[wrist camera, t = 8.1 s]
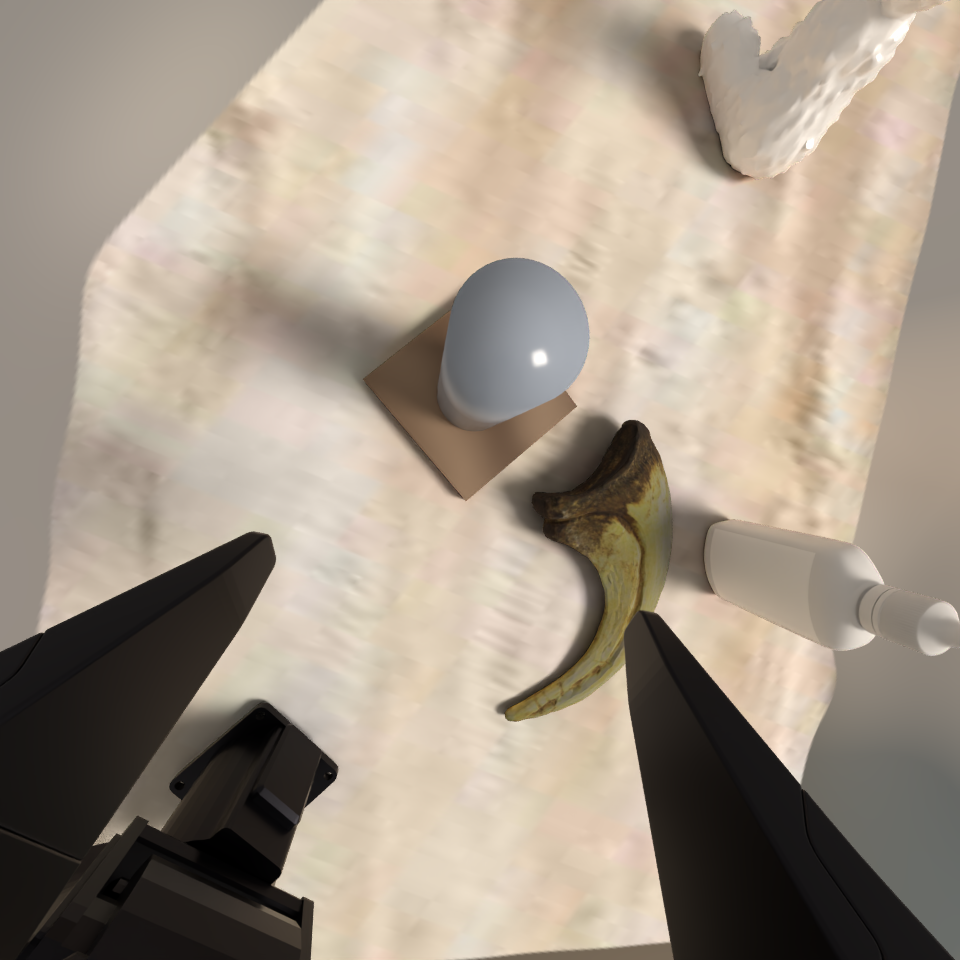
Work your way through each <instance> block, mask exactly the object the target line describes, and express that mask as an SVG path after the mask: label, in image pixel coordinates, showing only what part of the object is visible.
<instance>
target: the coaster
mask: <svg viewBox="0 0 960 960" xmlns="http://www.w3.org/2000/svg"><path fill="white" fill-rule="evenodd" d="M450 314H451V310H450V311H449V312H448V313H446V314H445V315H444V316H442V317H441V318H440V319H439V320H437V321H436V322H435V323H434V324H432V325H431V326H430V327H428V328H427V329H426V330H425V331H423V332H422V333H421V334H420V335H418V336H417V337H416V338H415V339H413V340H412V341H411V342H409V343H408V344H407V345H406V346H404V347H403V348H402V349H401V350H399V351H398V352H397V353H395V354H394V355H393V356H392V357H390V358H389V359H388V360H387V361H385V362H384V363H383V364H382V365H380V366H379V367H378V368H376V369H375V370H374V371H373V372H371V373H370V374H369V375H368V376H366V377H365V378H364V379H363V380H364V381H365V383H366V384H367V385H368V386H369V387H370V389H371V390H372V391H373V392H374V393H375V394H376V396H377V397H378V398H379V399H380V400H381V402H382V403H383V404H384V405H385V406H386V407H387V409H388V410H389V411H390V412H391V413H392V415H393V416H394V417H395V418H396V419H397V420H398V422H399V423H400V424H401V425H402V426H403V428H404V429H405V430H406V431H407V432H408V433H409V435H410V436H411V437H412V438H413V439H414V441H415V442H416V443H417V444H418V445H419V446H420V448H421V449H422V450H423V451H424V452H425V454H426V455H427V456H428V457H429V458H430V459H431V461H432V462H433V463H434V464H435V465H436V467H437V468H438V469H439V470H440V471H441V472H442V474H443V475H444V476H445V477H446V478H447V480H448V481H449V482H450V483H451V484H452V485H453V487H454V488H455V489H456V490H457V491H458V493H459V494H460V495H461V496H462V497H463V498H464V500H465V501H467V500H468V499H469V498H470V497H471V496H473V495H474V494H475V493H476V492H477V491H478V490H480V489H481V488H482V487H483V486H484V485H485V484H487V483H488V482H489V481H490V480H491V479H492V478H494V477H495V476H496V475H497V474H498V473H500V472H501V471H502V470H503V469H504V468H505V467H507V466H508V465H509V464H510V463H511V462H512V461H514V460H515V459H516V458H517V457H518V456H519V455H521V454H522V453H523V452H524V451H525V450H526V449H528V448H529V447H530V446H531V445H532V444H533V443H535V442H536V441H537V440H538V439H539V438H540V437H542V436H543V435H544V434H545V433H546V432H548V431H549V430H550V429H551V428H552V427H553V426H555V425H556V424H557V423H558V422H559V421H560V420H562V419H563V418H564V417H565V416H566V415H567V414H569V413H570V412H571V411H572V410H573V409H574V408H576V407H577V406H576V404H575V403H574V402H573V400H572V399H571V398H570V396H569V395H568V393H567V392H566V391H564V392H563V393H562V394H560V395H559V396H557V397H556V398H554V399H552V400H550V401H548V402H545V403H543V404H541V405H539V406H537V407H535V408H532V409H530V410H528V411H526V412H524V413H522V414H520V415H517V416H515V417H513V418H511V419H509V420H507V421H504V422H502V423H500V424H498V425H496V426H494V427H491V428H489V429H487V430H483V431H475V432H473V431H467V430H463V429H460V428H458V427H456V426H455V425H453V424H452V423H451V422H450V421H448V420H447V418H446V417H445V416H444V415H443V413H442V411H441V409H440V407H439V404H438V401H437V384H438V378H439V373H440V368H441V362H442V357H443V351H444V346H445V340H446V335H447V330H448V324H449V319H450Z"/></svg>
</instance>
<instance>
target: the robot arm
mask: <svg viewBox="0 0 960 960" xmlns="http://www.w3.org/2000/svg"><path fill="white" fill-rule="evenodd" d="M275 562H276V555H275V551H274V547H273V543H272V539H271V537H270V536H269V535H268V534H265V533H260V532H248V533H246V534H244V535H242V536H240V537H238V538H236V539H234V540H232V541H230V542H227V543H225V544H223V545H221V546H219V547H217V548H215V549H213V550H211V551H209V552H207V553H205V554H203V555H201V556H198V557H196V558H194V559H192V560H190V561H188V562H186V563H184V564H182V565H180V566H178V567H176V568H174V569H172V570H169V571H167V572H165V573H163V574H161V575H159V576H157V577H155V578H153V579H151V580H149V581H147V582H145V583H143V584H141V585H138V586H136V587H134V588H132V589H130V590H128V591H126V592H124V593H122V594H120V595H118V596H116V597H114V598H112V599H109V600H107V601H105V602H103V603H101V604H99V605H97V606H95V607H93V608H91V609H89V610H87V611H85V612H83V613H80V614H78V615H76V616H74V617H72V618H70V619H68V620H66V621H64V622H62V623H60V624H58V625H56V626H54V627H51V628H49V629H48V630H46V631H45V633H39V634H37V635H35V636H33V637H30V638H29V639H26V640H24V641H22V642H20V643H18V644H17V645H14V646H12V647H10V648H8V649H5V650H4V651H1V652H0V960H311V944H312V926H313V909H314V902H313V901H311V900H309V899H307V898H305V897H302V898H301V899H299V898H297V897H295V896H293V895H291V894H289V893H287V892H285V891H283V890H281V889H279V888H277V887H275V886H274V885H275V882H276V880H277V879H278V878H279V877H280V875H281V873H282V870H283V867H284V864H285V861H286V858H287V855H288V852H289V849H290V846H291V843H292V840H293V837H294V834H295V831H296V828H297V825H298V823H299V822H300V820H301V817H302V814H303V811H304V808H305V807H306V806H307V805H309V804H310V803H311V802H312V801H313V800H314V799H315V798H316V797H317V796H318V795H320V794H321V793H322V792H323V791H324V790H325V789H326V788H327V787H328V786H329V785H331V784H332V783H333V782H334V781H335V779H336V777H337V773H338V766H337V765H336V764H335V763H334V762H333V761H332V760H331V759H330V758H329V757H328V756H327V755H325V754H324V753H323V752H322V751H321V749H319V748H318V747H317V746H316V745H315V744H314V743H313V742H312V741H311V740H309V739H308V738H307V737H306V736H305V735H304V734H303V733H302V732H301V731H300V730H298V729H297V728H296V727H295V726H294V725H292V724H291V723H290V722H289V721H288V720H287V719H286V718H285V717H283V716H282V715H281V714H280V713H279V712H278V711H277V710H276V709H275V708H274V707H272V706H271V705H270V704H268V703H260V704H258V705H257V706H256V707H254V708H253V709H252V710H251V711H250V712H249V713H247V714H246V715H245V716H244V717H243V718H242V719H240V720H239V721H238V722H237V723H236V724H235V725H233V726H232V727H231V728H230V729H229V730H228V731H227V732H225V733H224V734H223V735H222V736H221V737H220V738H218V739H217V740H216V741H215V742H214V743H213V744H211V745H210V746H209V747H208V748H207V749H206V750H204V751H203V752H202V753H201V754H200V755H199V756H198V757H196V758H195V759H194V760H193V761H192V762H191V763H189V764H188V765H187V766H186V767H185V768H184V769H182V770H181V771H180V772H179V773H178V774H177V775H176V776H175V778H174V779H173V780H172V782H171V783H170V786H169V787H170V790H171V792H172V793H174V794H175V795H176V796H177V797H179V798H180V799H181V800H182V801H181V802H180V804H179V805H178V807H177V808H176V810H175V811H174V812H173V814H172V815H171V817H170V818H169V820H168V821H167V823H166V824H165V826H164V827H163V828H162V830H161V831H159V830H157V829H155V828H153V827H151V826H149V825H147V824H148V822H149V821H147V820H145V819H143V818H141V817H139V816H137V817H136V818H135V819H134V820H133V821H132V823H131V824H130V825H129V826H128V828H127V829H126V830H125V831H124V832H123V834H122V835H119V834H117V833H116V835H115V836H114V837H113V838H112V839H111V840H110V842H107V843H103V844H99V845H95V846H93V844H94V843H95V841H96V840H97V838H98V837H99V835H100V834H101V832H102V831H103V829H104V828H105V827H106V825H107V824H108V822H109V821H110V819H111V818H112V816H113V815H114V813H115V812H116V810H117V809H118V807H119V806H120V804H121V803H122V802H123V800H124V799H125V797H126V796H127V794H128V793H129V791H130V790H131V788H132V787H133V785H134V784H135V782H136V781H137V779H138V778H139V777H140V775H141V774H142V772H143V771H144V769H145V768H146V766H147V765H148V763H149V762H150V760H151V759H152V757H153V756H154V754H155V753H156V752H157V750H158V749H159V747H160V746H161V744H162V743H163V741H164V740H165V738H166V737H167V735H168V734H169V732H170V731H171V729H172V728H173V727H174V725H175V724H176V722H177V721H178V719H179V718H180V716H181V715H182V713H183V712H184V710H185V709H186V707H187V706H188V704H189V703H190V702H191V700H192V699H193V697H194V696H195V694H196V693H197V691H198V690H199V688H200V687H201V685H202V684H203V682H204V681H205V679H206V678H207V676H208V675H209V674H210V672H211V671H212V669H213V668H214V666H215V665H216V663H217V662H218V660H219V659H220V657H221V656H222V654H223V653H224V651H225V650H226V649H227V647H228V646H229V644H230V643H231V641H232V640H233V638H234V637H235V635H236V634H237V632H238V631H239V629H240V628H241V626H242V624H243V623H244V621H245V619H246V618H247V616H248V614H249V612H250V610H251V608H252V607H253V605H254V603H255V601H256V599H257V597H258V596H259V594H260V592H261V590H262V588H263V586H264V584H265V583H266V581H267V579H268V577H269V575H270V573H271V572H272V570H273V568H274V565H275ZM624 650H625V664H626V678H627V691H628V702H629V709H630V716H631V721H632V727H633V733H634V738H635V744H636V750H637V755H638V761H639V767H640V772H641V778H642V784H643V789H644V795H645V801H646V806H647V812H648V818H649V823H650V829H651V834H652V840H653V846H654V851H655V857H656V863H657V868H658V874H659V880H660V885H661V891H662V897H663V902H664V908H665V914H666V919H667V925H668V931H669V936H670V942H671V947H672V953H673V958H674V960H955V959H954V958H953V957H952V956H951V955H950V954H949V953H948V952H947V951H946V949H945V948H944V947H943V946H942V945H941V944H940V943H939V942H938V941H937V940H936V939H935V937H934V936H933V935H932V934H931V933H930V932H929V931H928V930H927V929H926V928H925V926H924V925H923V924H922V923H921V922H920V921H919V920H918V919H917V918H916V917H915V916H914V915H913V913H912V912H911V911H910V910H909V909H908V908H907V907H906V906H905V905H904V904H903V902H901V900H900V899H899V898H898V897H897V896H896V895H895V894H894V892H893V891H892V890H891V889H890V888H889V887H888V886H887V885H886V884H885V882H884V881H883V880H882V879H881V878H880V877H879V876H878V875H877V873H876V872H875V871H874V870H873V869H872V868H871V867H870V866H869V865H868V863H867V862H866V861H865V860H864V859H863V858H862V857H861V856H860V854H859V853H858V852H857V851H856V850H855V849H854V847H853V846H852V845H851V844H850V843H849V842H848V841H847V839H846V838H845V837H844V836H843V835H842V833H841V832H840V831H839V830H838V829H837V828H836V826H835V825H834V824H833V823H832V822H831V821H830V819H829V818H828V817H827V816H826V815H825V814H824V812H823V811H822V810H821V809H820V808H819V806H818V805H817V804H816V803H815V802H814V800H813V799H812V798H811V797H810V795H809V794H808V793H807V792H806V791H805V790H803V789H801V785H800V784H799V782H798V781H797V780H796V779H795V778H794V776H793V775H792V774H791V773H790V772H789V770H788V769H787V768H786V767H785V766H784V764H783V763H782V762H781V761H780V760H779V758H778V757H777V756H776V755H775V754H774V752H773V751H772V750H771V749H770V748H769V746H768V745H767V744H766V743H765V742H764V740H763V739H762V738H761V737H760V736H759V734H758V733H757V732H756V731H755V730H754V728H753V727H752V726H751V725H750V724H749V722H748V721H747V720H746V719H745V718H744V716H743V715H742V714H741V713H740V712H739V710H738V709H737V708H736V707H735V706H734V704H733V703H732V702H731V701H730V700H729V698H728V697H727V696H726V695H725V694H724V692H723V691H722V690H721V689H720V688H719V686H718V685H717V684H716V683H715V682H714V680H713V679H712V678H711V677H710V676H709V674H708V673H707V672H706V671H705V670H704V668H703V667H702V666H701V665H700V664H699V662H698V661H697V660H696V659H695V658H694V656H693V655H692V654H691V653H690V652H689V650H688V649H687V648H686V647H685V646H684V644H683V643H682V642H681V641H680V640H679V638H678V637H677V636H676V635H675V634H674V632H673V631H672V630H671V629H670V628H669V626H668V625H667V624H666V623H665V622H664V620H663V619H662V618H661V617H660V616H659V615H658V614H657V613H654V612H650V611H645V610H639V611H637V612H636V614H635V615H634V617H633V618H632V620H631V621H630V623H629V624H628V626H627V627H626V629H625V631H624ZM259 712H264V713H265V715H261V714H260V713H259ZM327 772H330V773H332V774H327ZM180 781H182V782H184V783H181V782H180Z"/></svg>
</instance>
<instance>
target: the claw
mask: <svg viewBox="0 0 960 960" xmlns="http://www.w3.org/2000/svg"><path fill="white" fill-rule="evenodd" d="M532 504H533V508H534V509H535V510H536V512H537V513H538V514H539V515H541V516H542V517H544V518H545V519H544V524H543V533H544V534H545V536H546V537H547V538H549V539H551V540H553V541H556V542H559V543H563V544H566V545H568V546H570V547H572V548H573V549H575V550H576V551H578V552H579V553H581V554H583V555H585V556H587V557H588V558H589V559H590V561H591V563H592V564H593V565H594V566H595V567H596V569H597V571H598V573H599V576H600V579H601V582H602V585H603V588H604V592H605V608H604V613H603V617H602V620H601V622H600V625H599V628H598V630H597V633H596V635H595V638H594V640H593V642H592V644H591V645H590V647H589V648H588V650H587V651H586V653H585V654H584V655H583V656H582V658H581V659H580V660H579V661H578V662H577V663H576V664H575V665H574V666H573V667H572V668H571V669H569V670H568V671H567V672H566V673H565V674H564V675H562V676H561V677H560V678H558V679H557V680H556V681H554V682H552V683H551V684H549V685H548V686H546V687H545V688H543V689H541V690H540V691H538V692H536V693H535V694H533V695H531V696H530V697H528V698H527V699H525V700H524V701H522V702H520V703H518V704H516V705H514V706H512V707H510V708H508V709H507V711H506V712H505V718H506V719H507V720H508V721H514V722H517V721H521V720H524V719H529V718H536V717H539V716H543V715H546V714H548V713H550V712H555V711H558V710H561V709H563V708H566V707H568V706H570V705H573V704H575V703H577V702H579V701H581V700H583V699H585V698H586V697H588V696H589V695H591V694H592V693H593V692H594V691H596V690H597V689H598V688H599V687H600V686H602V685H603V684H604V683H605V682H606V681H607V680H609V679H610V678H611V677H612V676H613V675H614V674H615V673H616V672H617V671H618V670H620V669H621V668H622V666H623V665H624V664H625V650H624V631H625V629H626V627H627V626H628V624H629V623H630V621H631V620H632V618H633V617H634V615H635V614H636V612H637V611H639V610H645V611H650V612H654V610H655V607H656V605H657V602H658V600H659V597H660V594H661V592H662V589H663V587H664V583H665V580H666V574H667V570H668V566H669V560H670V554H671V546H672V510H671V497H670V491H669V487H668V482H667V478H666V474H665V471H664V468H663V464H662V460H661V457H660V455H659V452H658V451H657V449H656V447H655V445H654V443H653V441H652V439H651V436H650V432H649V430H648V429H647V427H646V426H645V425H644V424H643V423H641V422H639V421H636V420H628V421H625V422H624V423H623V424H622V427H621V428H620V429H619V431H618V432H617V433H616V435H615V437H614V439H613V441H612V443H611V445H610V447H609V449H608V450H607V452H606V454H605V456H604V458H603V460H602V462H601V464H600V465H599V467H598V468H597V470H596V471H595V472H594V474H593V475H592V476H591V477H590V478H589V479H588V480H587V481H586V482H584V483H582V484H581V485H579V486H578V487H576V488H575V489H573V490H572V491H567V492H562V493H544V492H535V494H534V495H533V498H532Z"/></svg>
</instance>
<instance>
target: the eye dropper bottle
mask: <svg viewBox="0 0 960 960" xmlns="http://www.w3.org/2000/svg"><path fill="white" fill-rule="evenodd" d="M704 564H705V570H706V574H707V578H708V581H709V583H710V585H711V587H712V589H713V591H714V593H715V594H716V595H717V596H718V597H720V598H721V599H723V600H725V601H727V602H729V603H731V604H733V605H736V606H738V607H740V608H742V609H744V610H746V611H748V612H750V613H753V614H755V615H757V616H759V617H761V618H763V619H765V620H767V621H770V622H772V623H774V624H776V625H778V626H780V627H782V628H785V629H787V630H789V631H791V632H793V633H795V634H797V635H800V636H802V637H804V638H806V639H808V640H811V641H813V642H815V643H817V644H820V645H822V646H824V647H827V648H830V649H833V650H841V651H845V650H851V649H855V648H858V647H861V646H863V645H866V644H867V643H869V642H870V641H871V640H872V639H873V638H874V637H875V635H876V636H879V637H881V638H884V639H886V640H889V641H892V642H894V643H897V644H899V645H902V646H904V647H907V648H909V649H912V650H915V651H917V652H920V653H922V654H925V655H929V656H934V655H939V654H942V653H944V652H945V651H947V650H948V649H949V648H950V647H954V648H959V649H960V622H959V618H958V614H957V612H956V610H955V609H954V608H953V606H952V605H950V604H949V603H948V602H946V601H943V600H939V599H936V598H932V597H928V596H925V595H921V594H918V593H914V592H910V591H907V590H903V589H899V588H896V587H892V586H888V585H884V583H883V580H882V578H881V576H880V574H879V572H878V570H877V569H876V567H875V565H874V564H873V562H872V561H871V559H870V558H869V557H868V555H867V554H866V553H865V552H864V551H863V550H862V549H860V548H859V547H857V546H856V545H854V544H851V543H847V542H843V541H839V540H834V539H830V538H825V537H820V536H815V535H811V534H806V533H801V532H796V531H791V530H786V529H781V528H776V527H771V526H766V525H761V524H756V523H751V522H746V521H741V520H735V519H733V520H727V521H722V522H718V523H715V524H713V525H711V527H710V528H709V530H708V533H707V536H706V541H705V548H704Z"/></svg>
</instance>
